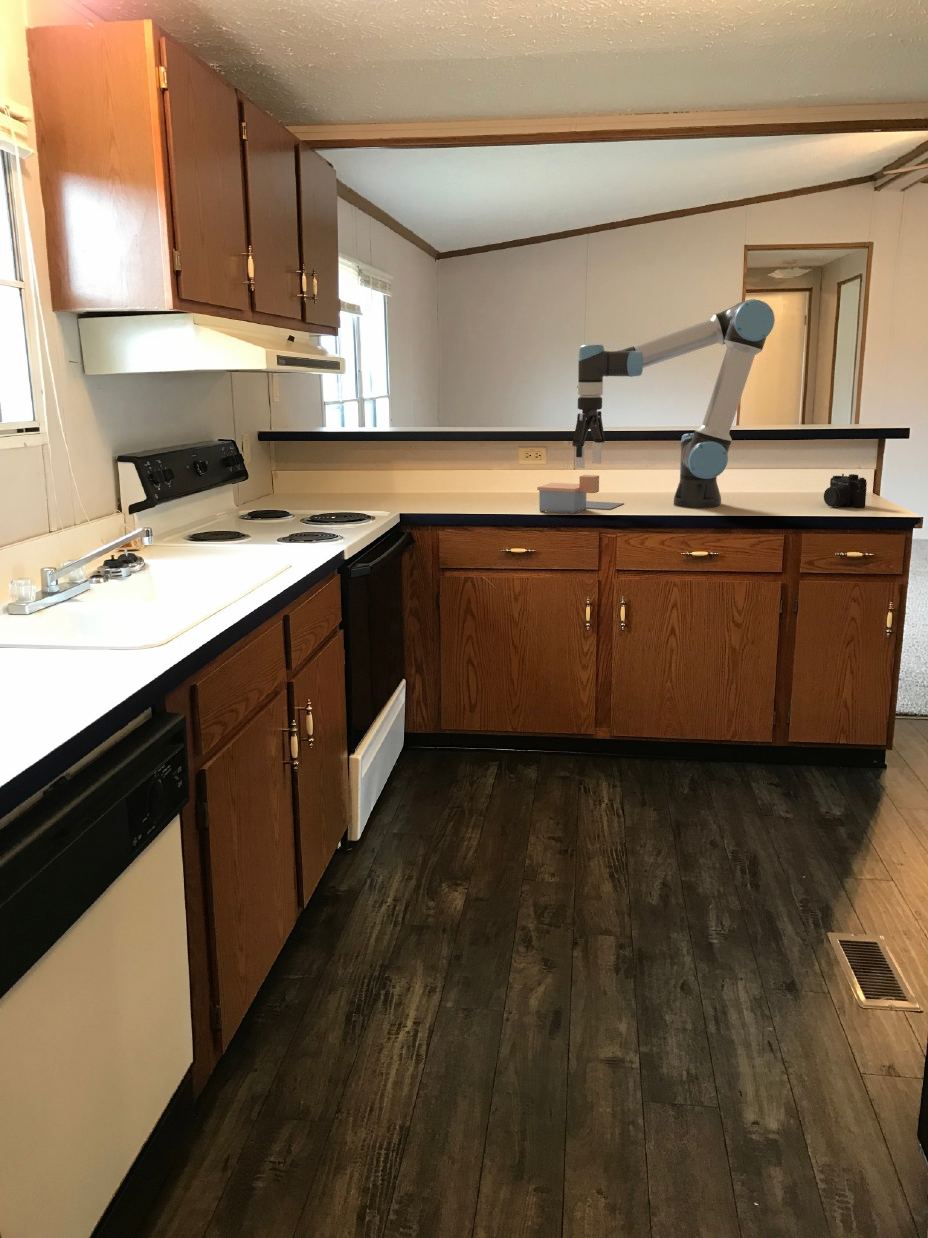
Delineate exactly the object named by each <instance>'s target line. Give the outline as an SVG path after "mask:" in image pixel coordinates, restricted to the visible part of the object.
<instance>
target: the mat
mask: <svg viewBox="0 0 928 1238" xmlns="http://www.w3.org/2000/svg"><path fill="white" fill-rule="evenodd" d="M624 504H625V503H624V502H610V501H591V500H586V510H587V509H588V510H591V509H592V510H602V511H603V510H604V511H605V510H607V511H610V510H611V511H612V510H613V509H616V508H618V507H621V506H623V505H624Z"/></svg>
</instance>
